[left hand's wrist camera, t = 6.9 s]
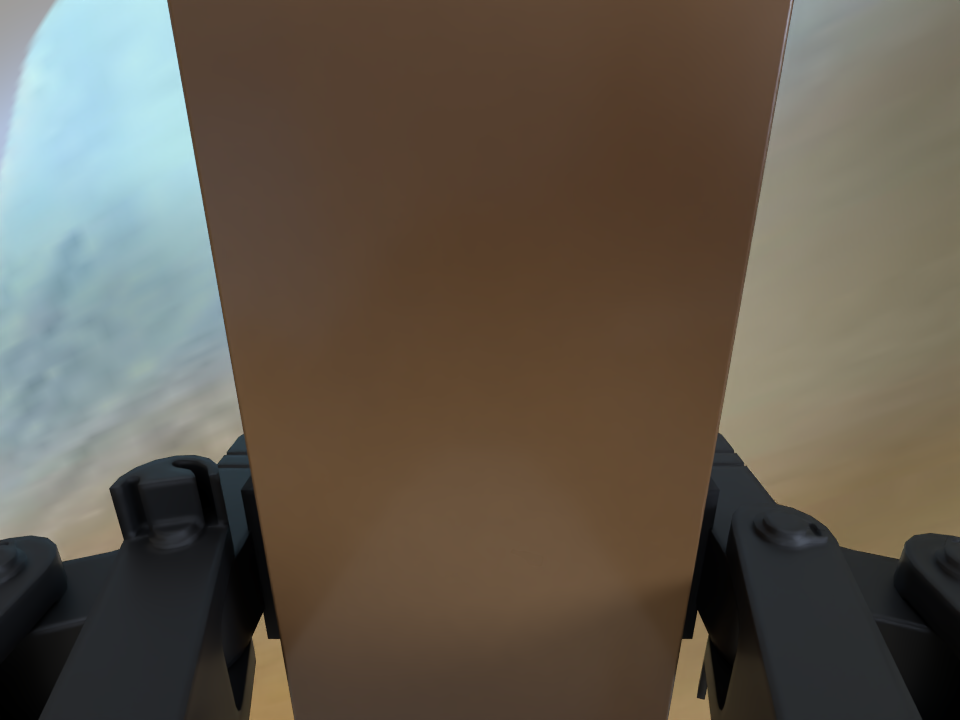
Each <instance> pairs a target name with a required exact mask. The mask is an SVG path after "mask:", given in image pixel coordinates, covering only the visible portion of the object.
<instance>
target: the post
mask: <svg viewBox="0 0 960 720" xmlns="http://www.w3.org/2000/svg"><path fill="white" fill-rule="evenodd" d="M167 2H168V8H169V13H170V19H171V25H172V30H173V36H174V41H175V47H176V53H177V58H178V64H179V70H180V75H181V81H182V87H183V92H184V98H185V104H186V109H187V115H188V121H189V126H190V132H191V138H192V143H193V149H194V155H195V160H196V166H197V171H198V177H199V183H200V188H201V194H202V200H203V205H204V211H205V217H206V222H207V228H208V234H209V239H210V245H211V251H212V256H213V262H214V268H215V273H216V279H217V285H218V290H219V296H220V301H221V307H222V313H223V318H224V324H225V330H226V335H227V341H228V347H229V352H230V358H231V364H232V369H233V375H234V381H235V386H236V392H237V398H238V403H239V409H240V414H241V420H242V426H243V431H244V437H245V443H246V448H247V454H248V460H249V465H250V471H251V477H252V482H253V488H254V494H255V499H256V505H257V511H258V516H259V522H260V528H261V533H262V539H263V544H264V550H265V556H266V561H267V567H268V573H269V578H270V584H271V590H272V595H273V601H274V607H275V612H276V618H277V624H278V629H279V635H280V641H281V646H282V652H283V658H284V663H285V669H286V674H287V680H288V686H289V691H290V697H291V703H292V708H293V714H294V720H668V715H669V709H670V704H671V698H672V692H673V687H674V681H675V675H676V670H677V664H678V658H679V652H680V647H681V641H682V635H683V630H684V624H685V618H686V612H687V607H688V601H689V595H690V590H691V584H692V578H693V573H694V567H695V561H696V555H697V550H698V544H699V538H700V533H701V527H702V521H703V516H704V510H705V504H706V498H707V493H708V487H709V481H710V476H711V470H712V464H713V459H714V453H715V447H716V441H717V436H718V430H719V424H720V419H721V413H722V407H723V402H724V396H725V390H726V384H727V379H728V373H729V367H730V362H731V356H732V350H733V345H734V339H735V333H736V327H737V322H738V316H739V310H740V305H741V299H742V293H743V288H744V282H745V276H746V270H747V265H748V259H749V253H750V248H751V242H752V236H753V231H754V225H755V219H756V213H757V208H758V202H759V196H760V191H761V185H762V179H763V173H764V168H765V162H766V156H767V151H768V145H769V139H770V134H771V128H772V122H773V116H774V111H775V105H776V99H777V94H778V88H779V82H780V77H781V71H782V65H783V59H784V54H785V48H786V42H787V37H788V31H789V25H790V20H791V14H792V8H793V2H794V0H167Z"/></svg>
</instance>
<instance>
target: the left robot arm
mask: <svg viewBox="0 0 960 720" xmlns="http://www.w3.org/2000/svg"><path fill="white" fill-rule="evenodd" d="M109 489H110V493H111V496H112V500H113V503H114V507H115V510H116V514H117V517H118V521H119V524H120V528H121V531H122V535H123V538H124V541H123V543H122V545H121V547H120V549H119V550H115V551H112V552H108V553H103V554H98V555H93V556H88V557H83V558H78V559H74V560H69V561H64V562H62V561H61V558H60V555H59V552H58V549H57V546H56V544H54V543H53V542H52V541H51V540H49V539H48V538H45V537H38V536H24V537H16V538H8V539H4V540H0V720H249V716H250V707H251V699H252V690H253V682H254V674H255V665H256V658H255V651H254V646H253V641H252V636H253V633H254V631H255V629H256V627H257V625H258V622H259V620H260V618H261V616H262V613H263V614H264V619H265V624H266V630H267V635H268V639H280V635H279V629H278V624H277V618H276V612H275V607H274V601H273V595H272V590H271V584H270V578H269V573H268V567H267V561H266V556H265V550H264V544H263V539H262V533H261V528H260V522H259V516H258V511H257V505H256V499H255V494H254V488H253V482H252V477H251V471H250V465H249V460H248V454H247V448H246V443H245V437H244V434H243V435H241V436H240V437H238V439H237V440H236V441H235V442H234V444H233V445H232V446H231V448H230V449H229V450H228V451H227V455H224V456H223V458H222V459H221V460H220V462H219V463H218V464H216V463H214V462H213V461H212V460H211V459H209V458H205V457H201V456H196V455H183V456H172V457H168V458H163V459H158V460H154V461H152V462H149V463H146V464H144V465H141V466H138V467H136V468H134V469H133V470H131V471H129V472H128V473H126V474H124V475H123V476H121V477H119V479H118V480H117V481H116V482H115V483H114V484H113V485H112V486H111V487H110V488H109ZM697 611H698V612H699V614H700V616H701V618H702V620H703V623H704V625H705V627H706V629H707V632H708V634H709V635H708V641H707V646H706V651H705V656H704V661H703V666H702V671H701V676H700V681H699V686H698V693H697V698H700V699H704V700H705V695H706V691H707V689H708V697H709V706H710V714H711V720H960V537H956V536H950V535H942V534H934V533H927V534H920V535H914V536H913V537H911V538H910V539H909V540H908V541H906V542H905V545H904V548H903V551H902V554H901V557H900V559H895V558H890V557H885V556H880V555H875V554H870V553H865V552H860V551H855V550H851V549H847V548H843V547H840V546H839V544H838V542H837V540H836V538H835V537H834V536H833V535H832V533H831V532H830V531H829V529H828V528H827V527H826V526H824V525H823V524H822V523H820V522H819V521H817V520H816V519H815V518H813V517H812V516H810V515H807V514H805V513H803V512H801V511H798V510H796V509H794V508H791V507H787V506H782V505H778V504H776V503H775V501H774V500H773V499H772V498H771V496H770V495H769V494H768V492H767V491H766V490H765V489H764V487H763V486H762V485H761V484H760V482H759V481H758V480H757V479H756V477H755V476H754V475H753V474H752V472H751V471H750V470H749V468H748V467H747V466H744V462H743V461H742V460H741V458H740V457H739V456H738V455H737V453H734V450H733V448H732V447H731V446H730V444H729V443H728V442H727V441H726V439H725V438H724V437H723V436H722V435H721V434H720V433H718V436H717V441H716V447H715V453H714V459H713V464H712V470H711V476H710V481H709V487H708V493H707V498H706V504H705V510H704V516H703V521H702V527H701V533H700V538H699V544H698V550H697V555H696V561H695V567H694V573H693V578H692V584H691V590H690V595H689V601H688V607H687V612H686V618H685V624H684V630H683V635H682V639H692V638H693V632H694V627H695V621H696V616H697Z"/></svg>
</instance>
